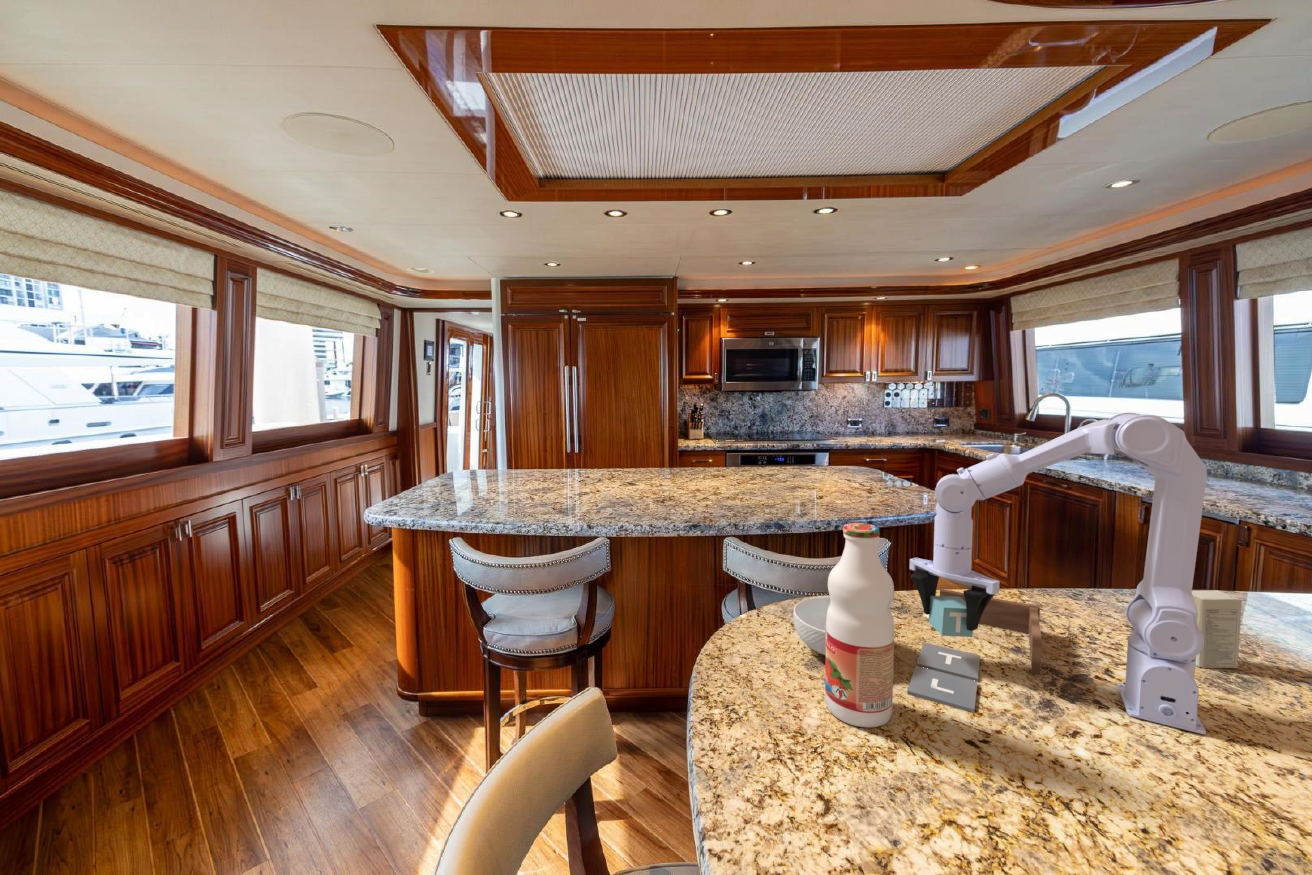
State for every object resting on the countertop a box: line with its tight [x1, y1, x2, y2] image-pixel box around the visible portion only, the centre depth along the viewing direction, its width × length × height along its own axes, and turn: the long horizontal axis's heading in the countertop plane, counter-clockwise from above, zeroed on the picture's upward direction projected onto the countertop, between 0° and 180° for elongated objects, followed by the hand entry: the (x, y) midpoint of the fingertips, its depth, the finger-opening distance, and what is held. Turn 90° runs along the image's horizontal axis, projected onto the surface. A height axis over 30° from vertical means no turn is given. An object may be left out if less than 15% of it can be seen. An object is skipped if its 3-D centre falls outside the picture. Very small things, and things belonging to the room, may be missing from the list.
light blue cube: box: [928, 595, 974, 638], centre depth 90 cm, size 5×5×5 cm
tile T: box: [916, 642, 981, 683], centre depth 90 cm, size 9×9×1 cm
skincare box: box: [1192, 589, 1242, 669], centre depth 89 cm, size 6×4×12 cm
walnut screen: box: [939, 588, 1043, 677], centre depth 97 cm, size 19×17×6 cm
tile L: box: [906, 665, 978, 714], centre depth 82 cm, size 9×9×1 cm
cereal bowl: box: [792, 595, 831, 656], centre depth 95 cm, size 17×17×7 cm
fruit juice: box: [824, 522, 895, 729], centre depth 76 cm, size 9×9×28 cm
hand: (949, 620), depth 90 cm, fingers closed on light blue cube, 7 cm apart
